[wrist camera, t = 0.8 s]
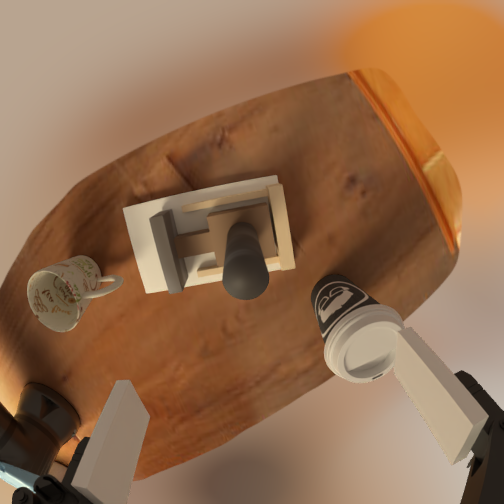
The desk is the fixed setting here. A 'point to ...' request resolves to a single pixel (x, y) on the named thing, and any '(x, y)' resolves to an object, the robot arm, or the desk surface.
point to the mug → (67, 291)
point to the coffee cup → (355, 330)
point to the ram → (219, 248)
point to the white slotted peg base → (195, 218)
